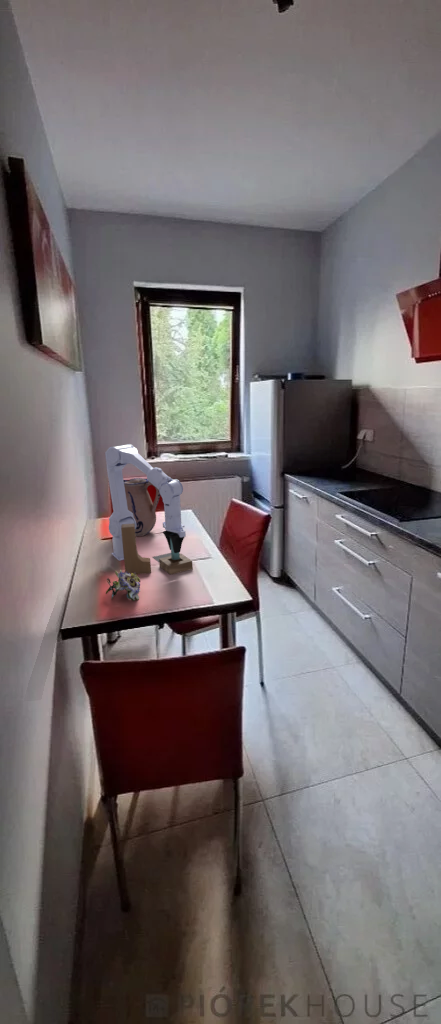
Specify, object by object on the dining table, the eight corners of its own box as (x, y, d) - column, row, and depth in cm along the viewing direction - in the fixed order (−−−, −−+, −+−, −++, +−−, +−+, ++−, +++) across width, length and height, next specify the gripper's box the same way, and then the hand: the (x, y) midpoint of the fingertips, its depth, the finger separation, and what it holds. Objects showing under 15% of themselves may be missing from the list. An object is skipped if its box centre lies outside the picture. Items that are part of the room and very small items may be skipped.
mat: (152, 558, 166) (152, 557, 166) (170, 553, 170) (170, 552, 170) (160, 564, 160) (160, 563, 159) (179, 559, 164) (179, 558, 163)
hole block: (159, 567, 157) (159, 558, 156) (181, 562, 161) (181, 553, 160) (170, 575, 149) (169, 566, 148) (192, 569, 154) (192, 560, 153)
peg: (170, 557, 155) (168, 534, 152) (177, 556, 156) (176, 532, 154) (173, 560, 152) (172, 536, 150) (181, 558, 154) (179, 535, 151)
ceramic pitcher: (126, 527, 205) (121, 476, 199) (168, 528, 202) (165, 476, 196) (112, 539, 189) (106, 484, 182) (158, 540, 186) (154, 484, 179)
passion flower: (137, 614, 134) (139, 596, 125) (102, 612, 132) (102, 593, 124) (141, 583, 142) (143, 564, 133) (107, 580, 140) (108, 560, 131)
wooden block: (150, 568, 156) (147, 522, 151) (151, 573, 152) (147, 525, 147) (125, 571, 154) (121, 524, 149) (125, 576, 150) (120, 527, 145)
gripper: (192, 517, 146) (194, 554, 149) (174, 508, 158) (176, 543, 161) (174, 521, 142) (176, 558, 146) (156, 511, 154) (159, 546, 158)
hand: (175, 550), depth 153 cm, fingers closed on peg, 3 cm apart
